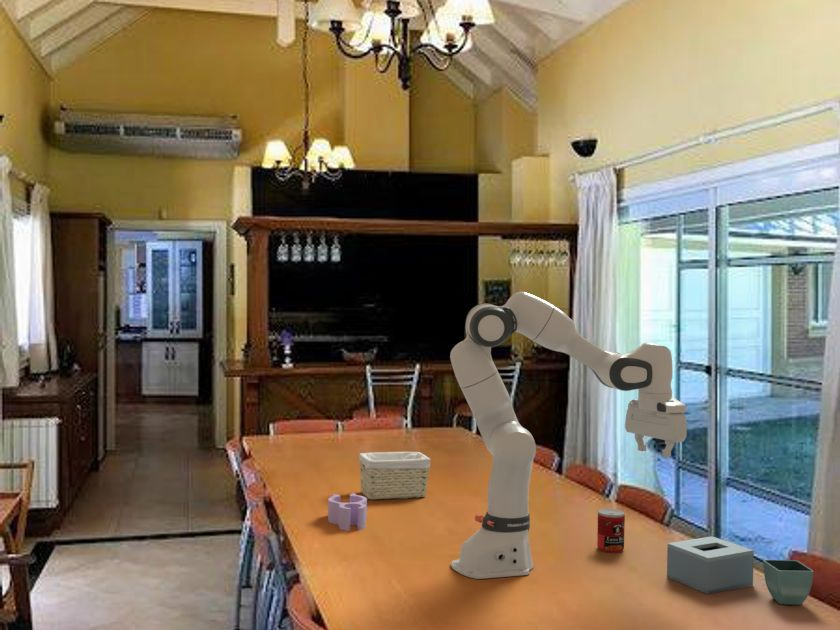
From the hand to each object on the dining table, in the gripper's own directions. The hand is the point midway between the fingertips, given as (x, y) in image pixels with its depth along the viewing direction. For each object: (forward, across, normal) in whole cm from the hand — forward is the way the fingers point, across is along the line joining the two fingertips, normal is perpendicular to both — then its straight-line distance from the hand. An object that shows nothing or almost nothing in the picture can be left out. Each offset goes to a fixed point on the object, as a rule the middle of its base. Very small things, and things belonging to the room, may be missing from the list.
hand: (653, 453), depth 230 cm
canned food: (+31, -18, +1) cm, 36 cm away
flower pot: (+31, +34, +12) cm, 48 cm away
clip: (+31, -77, -57) cm, 101 cm away
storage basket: (+31, -105, -28) cm, 113 cm away
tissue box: (+31, +15, +6) cm, 35 cm away
